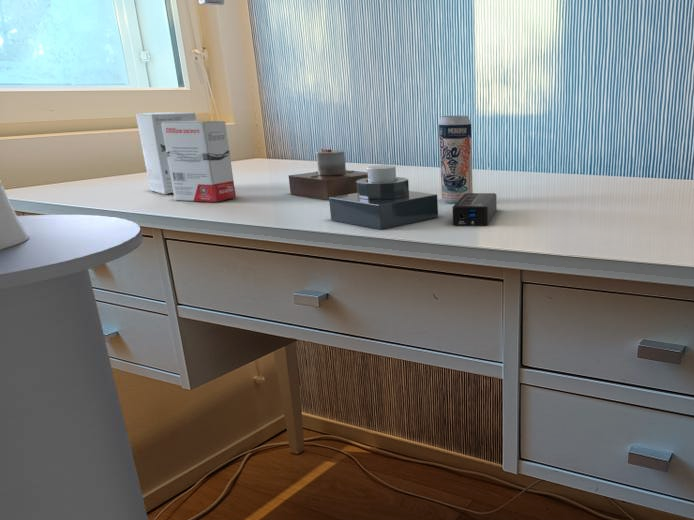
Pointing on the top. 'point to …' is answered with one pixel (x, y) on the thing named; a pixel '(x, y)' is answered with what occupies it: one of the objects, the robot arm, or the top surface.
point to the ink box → (199, 160)
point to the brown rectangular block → (325, 184)
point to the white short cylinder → (381, 173)
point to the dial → (331, 162)
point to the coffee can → (455, 157)
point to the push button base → (383, 205)
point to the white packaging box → (158, 147)
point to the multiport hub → (475, 209)
